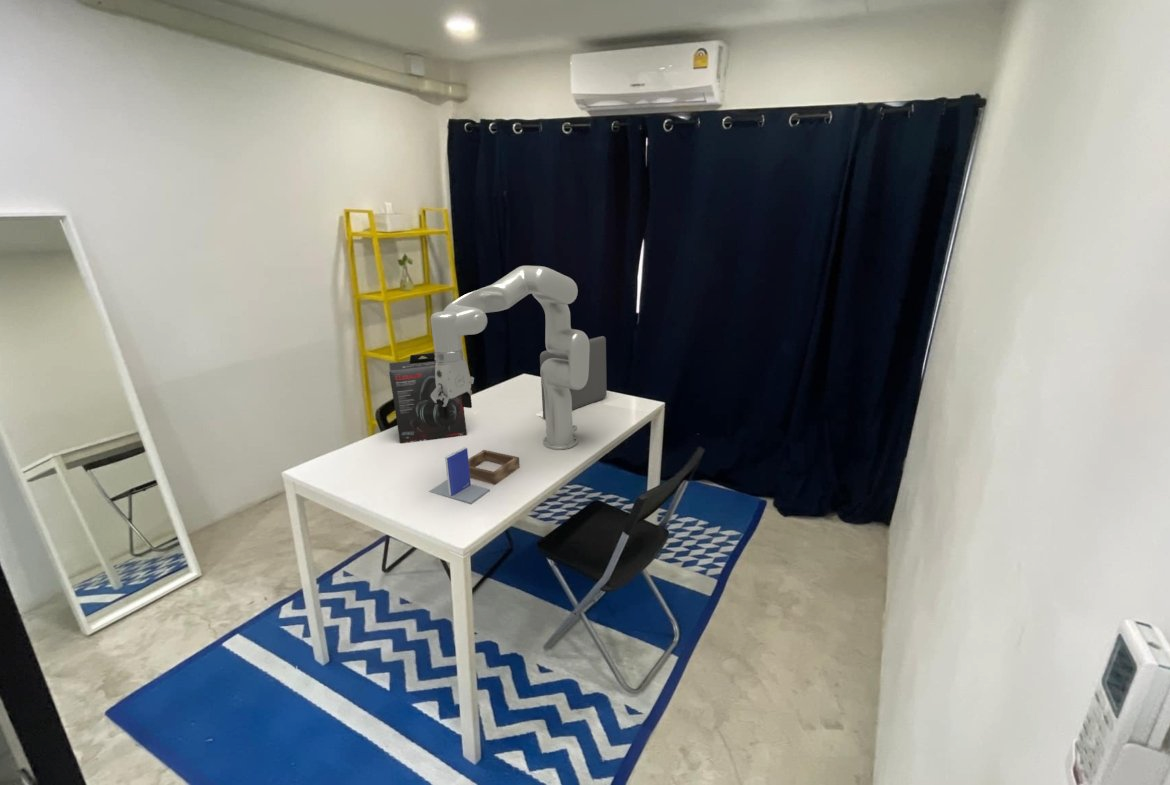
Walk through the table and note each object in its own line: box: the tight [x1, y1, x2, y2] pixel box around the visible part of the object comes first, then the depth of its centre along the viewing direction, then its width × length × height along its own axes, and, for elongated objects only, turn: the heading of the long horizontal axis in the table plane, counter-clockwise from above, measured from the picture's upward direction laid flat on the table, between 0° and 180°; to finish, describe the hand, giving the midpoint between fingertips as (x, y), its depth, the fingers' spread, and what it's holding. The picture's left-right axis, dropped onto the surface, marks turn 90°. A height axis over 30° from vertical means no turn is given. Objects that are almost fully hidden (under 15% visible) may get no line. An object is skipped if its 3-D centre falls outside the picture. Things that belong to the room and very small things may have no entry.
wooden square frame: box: [468, 449, 521, 486], centre depth 181 cm, size 13×14×4 cm
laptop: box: [535, 335, 608, 421], centre depth 240 cm, size 38×29×29 cm
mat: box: [428, 479, 491, 505], centre depth 169 cm, size 9×16×1 cm, turn 62°
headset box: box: [388, 352, 468, 444], centre depth 206 cm, size 24×13×33 cm, turn 109°
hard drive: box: [444, 447, 472, 496], centre depth 167 cm, size 2×8×12 cm, turn 148°
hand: (456, 412), depth 162 cm, fingers open, 9 cm apart
